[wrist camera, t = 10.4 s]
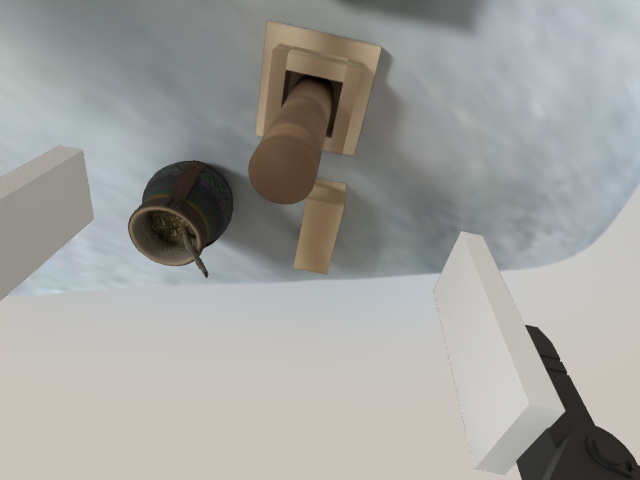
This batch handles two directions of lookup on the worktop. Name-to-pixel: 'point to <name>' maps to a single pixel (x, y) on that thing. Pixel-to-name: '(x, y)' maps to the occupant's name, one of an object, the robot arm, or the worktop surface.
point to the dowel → (293, 143)
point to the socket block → (322, 61)
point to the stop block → (320, 226)
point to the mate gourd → (181, 214)
